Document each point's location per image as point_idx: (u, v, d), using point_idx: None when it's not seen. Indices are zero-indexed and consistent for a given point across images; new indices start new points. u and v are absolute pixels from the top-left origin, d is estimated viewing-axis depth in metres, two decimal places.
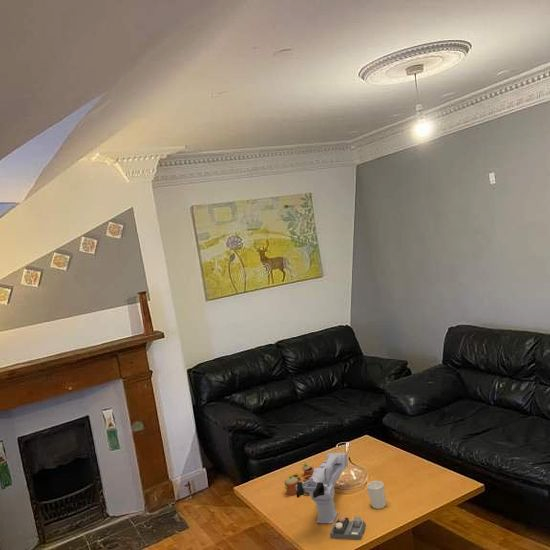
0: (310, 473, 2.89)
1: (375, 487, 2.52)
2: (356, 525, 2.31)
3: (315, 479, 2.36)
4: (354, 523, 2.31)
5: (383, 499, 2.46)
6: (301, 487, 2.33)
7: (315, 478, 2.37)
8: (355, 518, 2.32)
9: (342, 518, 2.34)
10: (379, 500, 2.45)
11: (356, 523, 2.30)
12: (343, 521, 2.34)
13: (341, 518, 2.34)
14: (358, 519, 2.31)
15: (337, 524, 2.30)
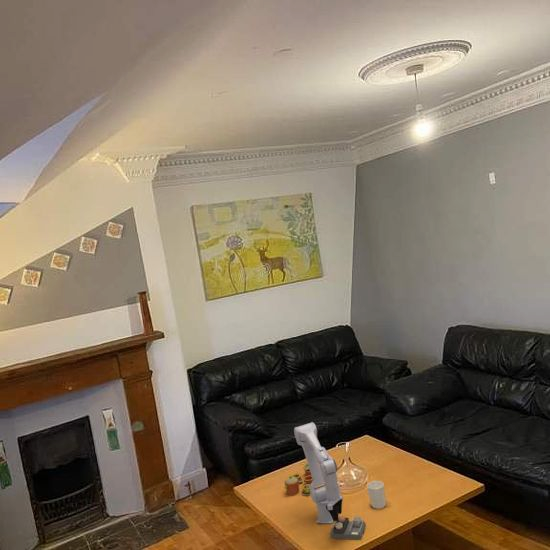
0: None
1: (375, 487, 2.52)
2: (356, 525, 2.31)
3: (339, 491, 2.29)
4: (354, 523, 2.31)
5: (383, 499, 2.46)
6: None
7: (339, 490, 2.29)
8: (355, 518, 2.32)
9: (342, 518, 2.34)
10: (379, 500, 2.45)
11: (356, 523, 2.30)
12: (343, 521, 2.34)
13: (341, 518, 2.34)
14: (358, 519, 2.31)
15: (337, 524, 2.30)
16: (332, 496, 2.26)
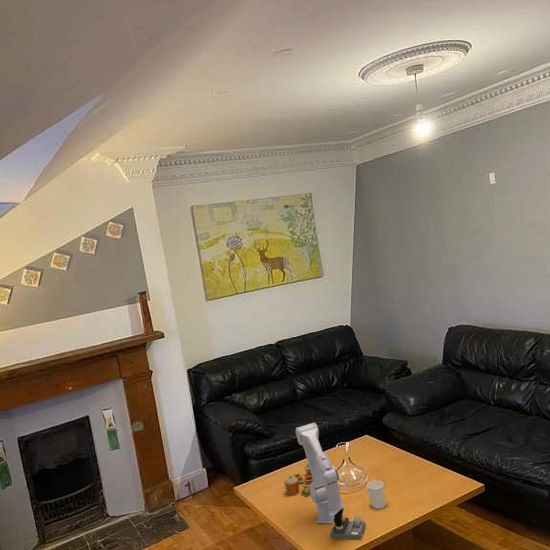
0: None
1: (375, 487, 2.52)
2: (356, 525, 2.31)
3: (341, 500, 2.30)
4: (354, 523, 2.31)
5: (383, 499, 2.46)
6: None
7: (340, 499, 2.29)
8: (355, 518, 2.32)
9: (342, 518, 2.34)
10: (379, 500, 2.45)
11: (356, 523, 2.30)
12: (343, 521, 2.34)
13: None
14: (358, 519, 2.31)
15: None
16: (334, 505, 2.27)
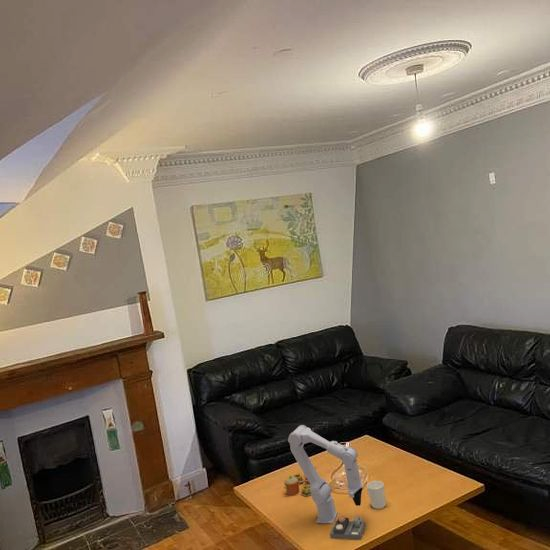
0: None
1: (375, 487, 2.52)
2: (356, 525, 2.31)
3: (360, 480, 2.36)
4: (354, 523, 2.31)
5: (383, 499, 2.46)
6: None
7: (359, 478, 2.36)
8: (355, 518, 2.32)
9: (342, 518, 2.34)
10: (379, 500, 2.45)
11: (356, 523, 2.30)
12: (343, 521, 2.34)
13: (341, 518, 2.34)
14: (358, 519, 2.31)
15: (337, 526, 2.30)
16: (353, 484, 2.33)
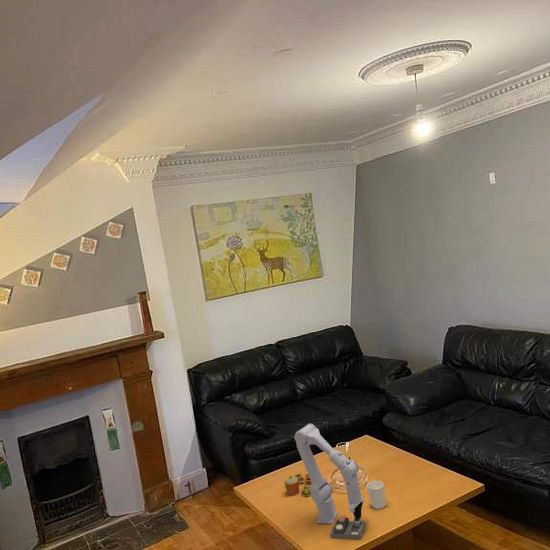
0: None
1: (375, 487, 2.52)
2: (356, 525, 2.30)
3: (360, 494, 2.33)
4: (354, 523, 2.31)
5: (383, 499, 2.46)
6: None
7: (360, 492, 2.33)
8: (355, 518, 2.32)
9: (342, 518, 2.34)
10: (379, 500, 2.45)
11: (356, 523, 2.30)
12: (343, 521, 2.34)
13: (341, 518, 2.34)
14: (357, 519, 2.31)
15: (337, 526, 2.30)
16: (354, 498, 2.30)
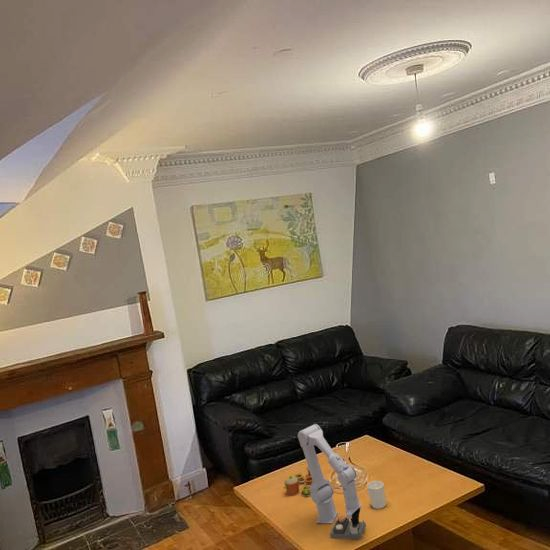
0: None
1: (375, 487, 2.52)
2: (353, 532, 2.26)
3: None
4: (351, 530, 2.26)
5: (383, 499, 2.46)
6: None
7: (357, 498, 2.29)
8: (352, 525, 2.27)
9: (342, 518, 2.34)
10: (379, 500, 2.45)
11: (353, 530, 2.26)
12: (343, 521, 2.34)
13: (341, 518, 2.34)
14: (355, 525, 2.26)
15: (337, 526, 2.30)
16: (351, 505, 2.26)
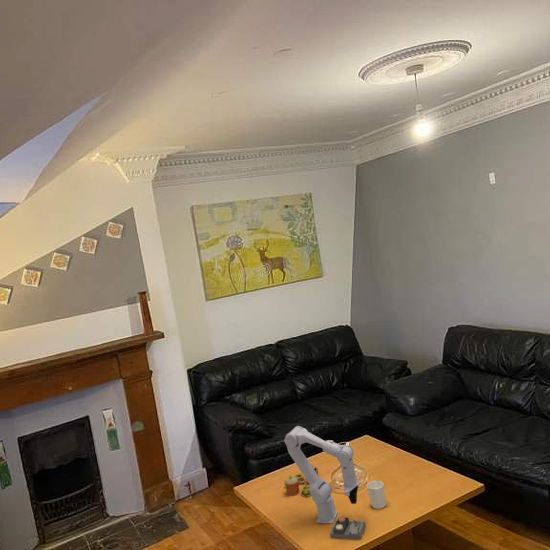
0: None
1: (375, 487, 2.52)
2: (353, 532, 2.26)
3: None
4: (351, 530, 2.26)
5: (383, 499, 2.46)
6: None
7: (355, 477, 2.36)
8: (352, 525, 2.27)
9: (342, 518, 2.34)
10: (379, 500, 2.45)
11: (353, 530, 2.26)
12: (343, 521, 2.34)
13: (341, 518, 2.34)
14: (355, 525, 2.26)
15: (337, 526, 2.30)
16: (349, 482, 2.34)
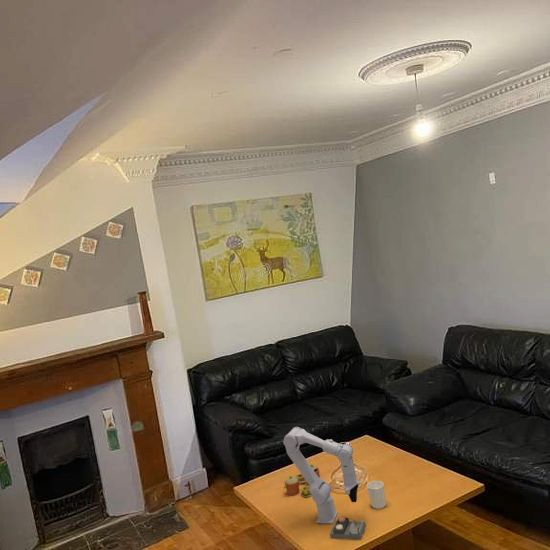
0: None
1: (375, 487, 2.52)
2: (353, 532, 2.26)
3: None
4: (351, 530, 2.26)
5: (383, 499, 2.46)
6: None
7: (355, 475, 2.37)
8: (352, 525, 2.27)
9: (342, 518, 2.34)
10: (379, 500, 2.45)
11: (353, 530, 2.26)
12: (343, 521, 2.34)
13: (341, 518, 2.34)
14: (355, 525, 2.26)
15: (337, 526, 2.30)
16: (349, 481, 2.35)
